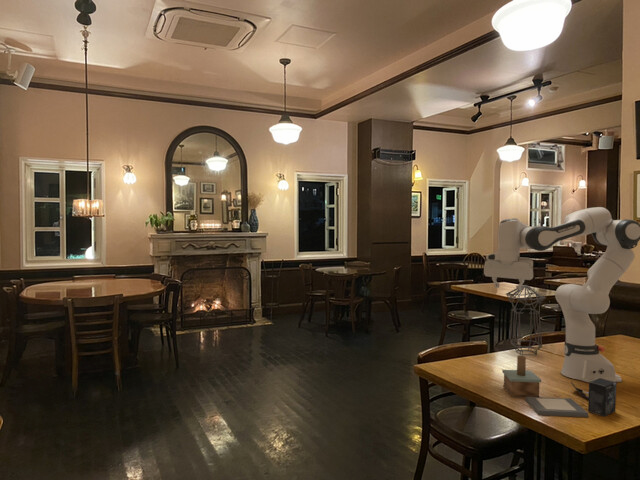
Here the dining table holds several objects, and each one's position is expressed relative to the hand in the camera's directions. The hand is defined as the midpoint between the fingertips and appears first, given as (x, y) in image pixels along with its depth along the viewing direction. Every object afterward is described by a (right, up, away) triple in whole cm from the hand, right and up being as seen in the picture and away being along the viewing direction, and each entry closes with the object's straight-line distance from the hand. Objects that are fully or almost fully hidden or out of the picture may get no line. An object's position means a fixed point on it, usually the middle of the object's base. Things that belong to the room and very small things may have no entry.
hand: (507, 288), depth 197 cm
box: (+18, -39, -38) cm, 57 cm away
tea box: (-3, -38, -19) cm, 43 cm away
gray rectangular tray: (+3, -39, -35) cm, 52 cm away
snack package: (+22, -39, -23) cm, 50 cm away
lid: (-3, -32, -19) cm, 38 cm away
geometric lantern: (+23, -37, +36) cm, 57 cm away
